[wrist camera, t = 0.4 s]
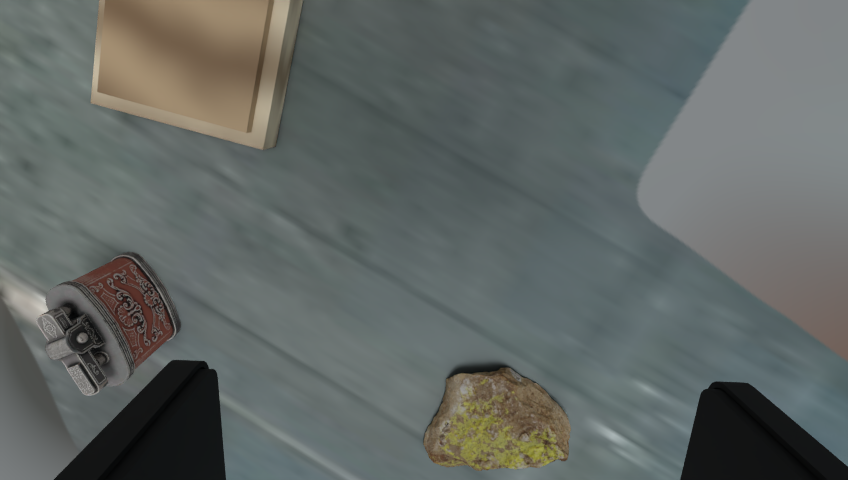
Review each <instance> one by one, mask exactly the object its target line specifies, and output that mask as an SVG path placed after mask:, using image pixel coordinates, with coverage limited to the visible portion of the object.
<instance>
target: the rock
mask: <svg viewBox="0 0 848 480" xmlns="http://www.w3.org/2000/svg"><path fill="white" fill-rule="evenodd" d="M570 431H571V427H570V424H569V421H568V418H567V415H566V413H565V412H564V411H563V409H562V408H561V407H560V406H559V405H558V404H557V403H556V402H555V401H554V400H552V399H551V397H550V396H549V395H548V393H547V392H546V391H545V390H544V389H543V388H541V387H540V386H539V385H538V384H537V383H533V382H532V381H531V380H529V379H528V378H523V377H521V376H520V375H519V374H518V373H516V372H514V371H513V370H512V369H511V368H508V367H507V368H500V369H499V370H498V371H492V372H479V373H473V374H468V373H460V374H457V375H454V376H453V377H450V378H447V379H446V391H445V394H444V397H443V403H442V404H441V406H440V407H439V412H438V413H437V414H436V416H435V417H434V419H433V421H432V423H431V425H429V426H428V428H427V431H426V433H425V438H424V446H425V448H426V451H427V453H428V456H429V458H430V459H431V460H432V461H433V462H434V463H436V464H439V465H441V466H445V467H454V466H460V465H468V466H471V467H472V468H473V469H475V470H478V471H482V470H483V469H484V470H489V469H495V468H496V469H498V468H505V467H506V468H511V469H520V468H528V467H536V468H540V467H542V466H544V465H546V464H548V463H550V462H553V461H555V460H557V459H559V460H561V461H565V460H567V458H568V454H569V445H568V440H569V438H570V435H569V433H570Z"/></svg>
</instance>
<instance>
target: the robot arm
mask: <svg viewBox="0 0 848 480" xmlns="http://www.w3.org/2000/svg"><path fill="white" fill-rule="evenodd" d="M54 480H226V475H225V463H224V451H223V438H222V426H221V414H220V401H219V389H218V377H217V373H216V371H215V370H214V369H209V367H208V365H207V363H206V362H205V361H188V360H172V361H171V362H170V363H168V364H167V365H166V366H165V367H164V368H163V369H162V370H161V371H160V372H159V373H158V374H157V376H156V377H155V378H154V379H153V380H152V381H151V382H150V383H149V384H148V385H147V386H146V387H145V388H144V389H143V390H142V391H141V392H140V393H139V394H138V395H137V396H136V397H135V398H134V399H133V400H132V401H131V402H130V403H129V404H128V405H127V406H126V407H125V408H124V409H123V410H122V411H121V412H120V413H119V414H118V415H117V416H116V417H115V418H114V419H113V420H112V421H111V422H110V423H109V424H108V425H107V426H106V427H105V428H104V429H103V430H102V431H101V432H100V433H99V434H98V435H97V436H96V437H95V438H94V439H93V440H92V441H91V442H90V443H89V444H88V445H87V446H86V447H85V448H84V449H83V450H82V451H81V452H80V453H79V454H78V455H77V457H76V458H75V459H74V460H73V461H72V462H71V463H70V464H69V465H68V466H67V467H66V468H65V469H64V470H63V471H62V472H61V473H60V474H59V475H58V476H57V477H56V478H55V479H54ZM680 480H848V466H846V465H845V464H844V463H843V462H842V461H840V460H839V459H838V458H837V457H836V456H835V455H833V454H832V453H831V452H830V451H829V450H827V449H826V448H825V447H824V446H823V445H822V444H820V443H819V442H818V441H817V440H816V439H814V438H813V437H812V436H811V435H810V434H809V433H807V432H806V431H805V430H804V429H803V428H801V427H800V426H799V425H798V424H797V423H796V422H794V421H793V420H792V419H791V418H790V417H788V416H787V415H786V414H785V413H784V412H783V411H781V410H780V409H779V408H778V407H777V406H775V405H774V404H773V403H772V402H771V401H770V400H768V399H767V398H766V397H765V396H764V395H762V394H761V393H760V392H759V391H758V390H757V389H755V388H754V387H753V386H751V385H750V384H748V383H740V382H714V383H712V384H711V385H710V386H709V388H708V389H705V390H703V391H702V393H701V395H700V399H699V403H698V407H697V412H696V416H695V420H694V424H693V428H692V433H691V437H690V441H689V445H688V450H687V454H686V458H685V462H684V467H683V471H682V475H681V479H680Z"/></svg>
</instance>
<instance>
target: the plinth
mask: <svg viewBox="0 0 848 480" xmlns="http://www.w3.org/2000/svg"><path fill="white" fill-rule="evenodd" d="M302 4H303V0H99V10H98V22H97V34H96V46H95V58H94V70H93V82H92V94H91V103H92V104H96V105H100V106H103V107H107V108H111V109H114V110H118V111H122V112H125V113H129V114H133V115H136V116H140V117H144V118H147V119H151V120H155V121H158V122H162V123H166V124H169V125H173V126H177V127H180V128H184V129H188V130H191V131H195V132H199V133H203V134H206V135H210V136H214V137H217V138H221V139H225V140H228V141H232V142H236V143H239V144H243V145H247V146H250V147H254V148H258V149H261V150H265V149H268V148H272V147H276V142H277V136H278V131H279V126H280V121H281V115H282V110H283V105H284V99H285V94H286V89H287V83H288V78H289V73H290V68H291V62H292V57H293V52H294V46H295V41H296V36H297V30H298V25H299V20H300V14H301V9H302Z"/></svg>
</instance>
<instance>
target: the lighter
mask: <svg viewBox="0 0 848 480" xmlns="http://www.w3.org/2000/svg"><path fill="white" fill-rule="evenodd" d="M45 300H46V305H47V307H48V309H49V311H48V312H46V313H44V314H42V315H40V316H39V317H37V319H36V323H37V325H38V326H39V328H40V329H41V331H42V332H43V334H44V335H45V337H46V338H47V344H46V346H45V351H46V353H47V355H48V356H49V358H51V359H52V360H59V361H62V362H63V364H64V365H65V367H66V368H67V371H68V372H69V374H70V375H71V377H72V378H73V380H74V381H75V383H76V384H77V386H78V387H79V389H80V390H81V392H82V393H83V394H84V395H89V396H90V395H94V394H96V393H98V392H99V391H100V390H101V389H103V388H104V387H105V386H118V385H121V384H122V383H124V382H125V381H126V380H127V379H129V378H130V377H131V375H132V374H133V373H134V370H135V369H136V368H137V367H138V366H139V365H140V364H141V363H142V362H143V361H145V360H146V359H147V358H148V357H149V356H150V355H151V354H152V353H153V352H154V351H156V350H157V349H158V348H159V347H160V346H161V345H162V344H163V343H164V342H166V341H168V340H170V339H172V338H173V337H174V336H175V335H176V334H177V333H178V332H179V331H180V328H181V322H180V319H179V316H178V314H177V311H176V308H175V305H174V303H173V301H172V299H171V297H170V295H169V293H168V291H167V289H166V288H165V286H164V285H163V283H162V282H161V280H160V279H159V277H158V276H157V274H156V273H155V271H154V270H153V269H152V268H151V267H150V266H149V264H148V263H147V262H146V261H145V260H144V258H143V257H142V256H140V255H139V254H137V253H134V252H127V253H123V254H121V255H119V256H117V257H115V258H113V259H112V260H111V262H109V263H107V264H105V265H103V266H101V267H99V268H97V269H95V270H93V271H91V272H89V273H87V274H85V275H83V276H81V277H79V278H77V279H75V280H73V281H67V282H63V283H61V284H59V285H57V286H55V287H53V288H52V289H50V290H49V292H48V293H47V295H46V299H45Z"/></svg>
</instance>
